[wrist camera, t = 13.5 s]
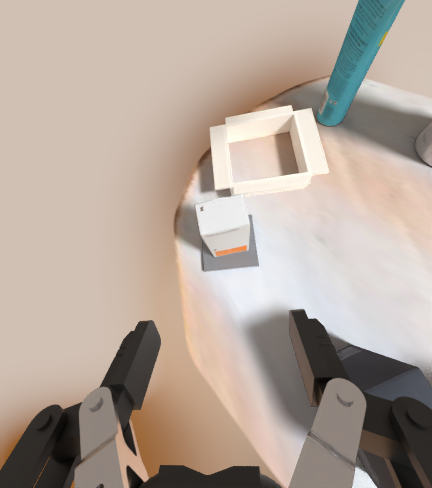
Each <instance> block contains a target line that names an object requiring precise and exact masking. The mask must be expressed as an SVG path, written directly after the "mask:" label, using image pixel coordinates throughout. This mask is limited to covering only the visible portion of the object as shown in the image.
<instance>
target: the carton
mask: <svg viewBox="0 0 432 488" xmlns="http://www.w3.org/2000/svg"><path fill="white" fill-rule="evenodd" d="M225 120H226V124H224V125H219V126H213V127H210V138H211V151H212V162H213V173H214V184H215V190H221V189H228V188H230V191H231V196H233V195H237V194H243V195H244V197H248V196H255V195H262V194H269V193H275V192H282V191H289V190H296V189H303V188H306V187H307V185H309V184H311V182H310V179H311V177H312V176H313V175H319V174H326V173H329V169H328V165H327V162H326V158H325V155H324V151H323V148H322V144H321V140H320V137H319V133H318V130H317V126H316V123H315V119H314V116H313V112H312V109H311V108H308V109H303V110H298V111H293V109H292V105H289V106H284V107H278V108H273V109H268V110H263V111H258V112H253V113H247V114H242V115H237V116H232V117H227V118H225ZM286 132H290V136H291V141H292V145H293V149H294V153H295V158H296V162H297V166H298V171H299V173H297V174H291V175H285V176H278V177H272V178H265V179H259V180H252V181H246V182H239V183H233V178H232V170H231V161H230V153H229V145H228V143H230V142H236V141H241V140H247V139H253V138H258V137H264V136H270V135H275V134H281V133H286Z"/></svg>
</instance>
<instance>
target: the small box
mask: <svg viewBox="0 0 432 488" xmlns="http://www.w3.org/2000/svg"><path fill="white" fill-rule="evenodd" d="M337 354H338V356H339V358H340V360H341V362H342V364H343V367H344V369H345V371H346V373H347V375H348V376H349V378H350V380H351V381H352V382H353V383H354V384H355V385H356V386H357V387H358V388H360V389H361V390H363V391H364V392H366V393H368V394H371V395H373V396H377V397H380V398H384V399H387V400H391V401H394V400H395V399H396V398H398V397H402V396H405V397H411V398H414V399H416V400H418V401H420V402H422V403H424V404H425V405H426V406H428V407H429V408H430V409H431V410H432V387H431V385H430V384H429V382H428V381H427V379H426V378H425V376H424V375H423V373H422V372H421V370H420V369H419V368H418V367H416V366H412V365H409V364H406V363H403V362H401V361H398V360H395V359H392V358H389V357H386V356H383V355H380V354H377V353H374V352H372V351H369V350H366V349H363V348H360V347H357V346H354V345H351V346H348V347H347V348H344V349H342V350H340V351H338V352H337ZM357 454H358V456H359V458H360V460H361V462H362V464H363V466H364V467H365V469H366V471H367V473H368V475H369V476H370V478H371V479H372V481H373V482H374V484H375V485H376V486H377V487H378V488H396V486H395V483H394V481H393V479H392V476H391V474H390V472H389V469H388V467H387V465H386V462H385V460H384V458H383V457H380V456H378V455H375V454H372V453H370V452H367V451H365V450H362V449H359V448H358V452H357Z"/></svg>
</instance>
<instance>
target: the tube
mask: <svg viewBox="0 0 432 488" xmlns="http://www.w3.org/2000/svg"><path fill="white" fill-rule="evenodd" d="M404 1H405V0H359V1H358V4H357V7H356V9H355V12H354V15H353V18H352V20H351V23H350V26H349V28H348V31H347V34H346V37H345V39H344V42H343V45H342V48H341V50H340V53H339V56H338V58H337V61H336V64H335V67H334V69H333V72H332V75H331V77H330V80H329V83H328V85H327V88H326V91H325V93H324V96H323V99H322V102H321V104H320V107H319V110H318V113H317V119H318V121H319V122H320V123H321V124H323V125H326V126H335V125H337V124H339V123H340V122H342V120H343V119H344V117H345V115H346V113H347V111H348V109H349V107H350V105H351V103H352V101H353V99H354V97H355V95H356V93H357V91H358V89H359V87H360V85H361V83H362V81H363V79H364V77H365V75H366V73H367V71H368V69H369V67H370V65H371V64H372V62H373V60H374V58H375V56H376V54H377V52H378V50H379V48H380V46H381V44H382V43H383V41H384V39H385V37H386V35H387V33H388V31H389V29H390V27H391V26H392V24H393V22H394V20H395V18H396V16H397V14H398V12H399V10H400V9H401V7H402V5H403V3H404Z"/></svg>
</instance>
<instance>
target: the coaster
mask: <svg viewBox="0 0 432 488" xmlns="http://www.w3.org/2000/svg"><path fill="white" fill-rule="evenodd" d="M248 216H249V221H250V235H249V250H248V251H243V252H238V253H232V254H228V255H223V256H219V257H214V256H213V254H212V253H211V251H210V250H209V248H208V247H207V245H206V244H205V242H204V240H203V239H202V247H203V263H204V272H207V271H217V270H226V269H236V268H245V267H254V266H259V264H258V257H257V250H256V243H255V236H254V229H253V222H252V215H248Z"/></svg>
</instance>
